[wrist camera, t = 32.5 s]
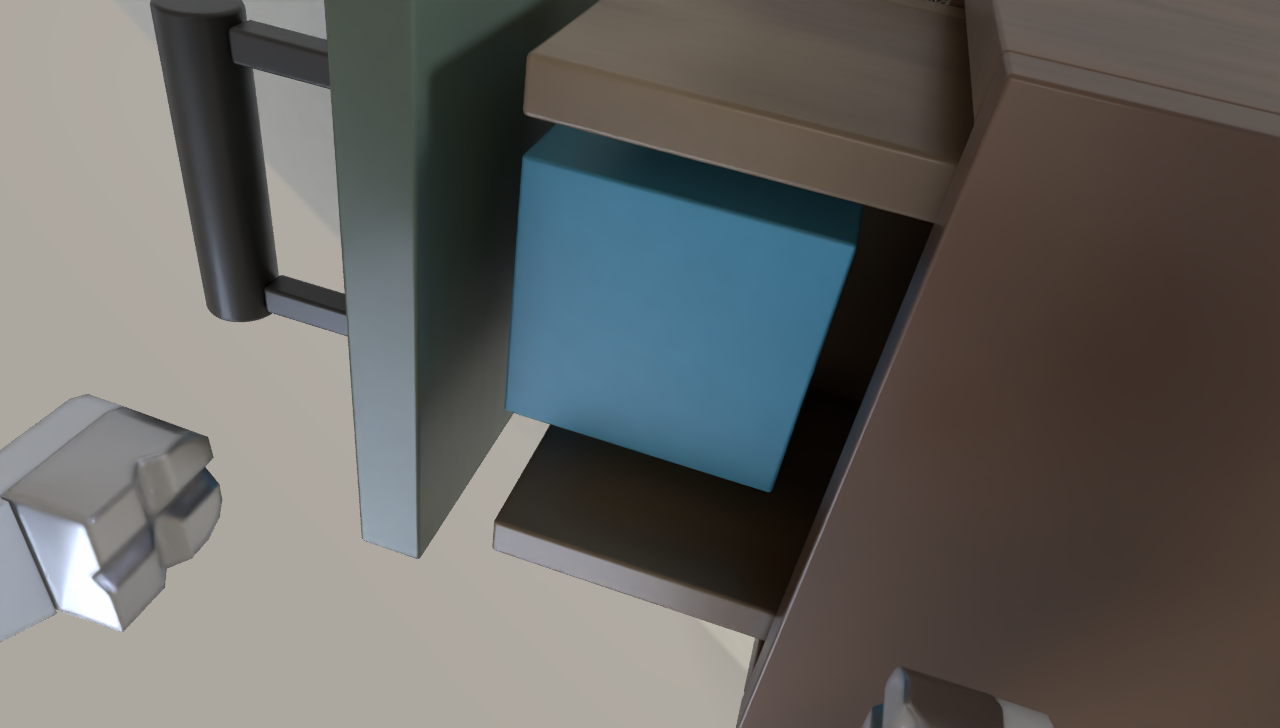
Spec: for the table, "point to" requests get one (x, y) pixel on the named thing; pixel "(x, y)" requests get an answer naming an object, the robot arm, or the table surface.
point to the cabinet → (1071, 396)
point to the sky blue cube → (671, 301)
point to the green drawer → (487, 230)
